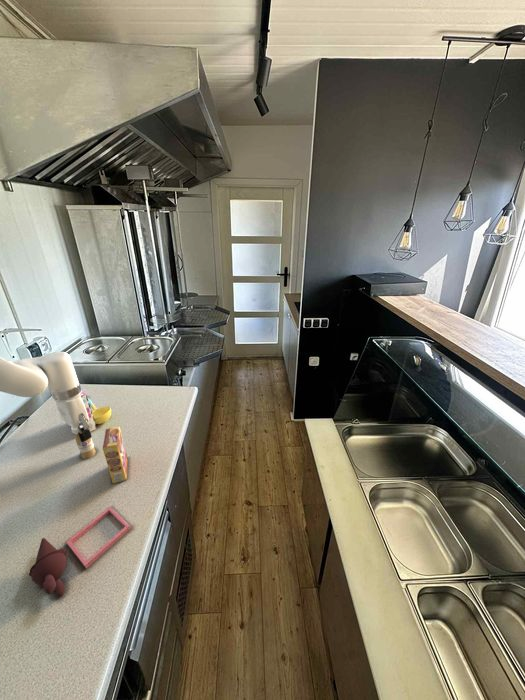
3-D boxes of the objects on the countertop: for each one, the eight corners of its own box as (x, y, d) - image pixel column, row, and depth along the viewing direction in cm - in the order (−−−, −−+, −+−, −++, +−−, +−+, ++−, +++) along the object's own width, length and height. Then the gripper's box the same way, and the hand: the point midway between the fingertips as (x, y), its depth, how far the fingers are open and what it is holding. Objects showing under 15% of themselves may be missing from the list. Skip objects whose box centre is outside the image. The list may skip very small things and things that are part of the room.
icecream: (16, 546, 67) (25, 608, 57) (50, 521, 70) (64, 576, 61) (35, 555, 71) (47, 614, 62) (66, 531, 74) (82, 584, 65)
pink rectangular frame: (87, 570, 68) (84, 566, 67) (68, 546, 73) (65, 541, 72) (131, 530, 76) (129, 525, 75) (111, 511, 81) (110, 506, 80)
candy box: (128, 481, 90) (117, 444, 83) (113, 485, 89) (100, 448, 82) (129, 460, 98) (119, 425, 91) (115, 463, 96) (104, 428, 90)
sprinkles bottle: (84, 462, 97) (72, 431, 91) (80, 455, 100) (68, 425, 94) (98, 455, 100) (88, 424, 94) (94, 448, 103) (84, 418, 97)
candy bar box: (98, 428, 111) (87, 393, 104) (85, 436, 108) (72, 400, 100) (83, 417, 117) (72, 384, 110) (71, 424, 113) (57, 390, 106)
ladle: (94, 431, 109) (88, 418, 107) (79, 412, 128) (74, 401, 126) (117, 419, 114) (112, 407, 112) (100, 402, 134) (95, 391, 132)
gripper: (40, 387, 90) (58, 432, 97) (66, 406, 81) (83, 454, 89) (66, 377, 95) (81, 421, 103) (92, 394, 86) (107, 440, 94)
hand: (82, 435), depth 96 cm, fingers closed on sprinkles bottle, 4 cm apart
